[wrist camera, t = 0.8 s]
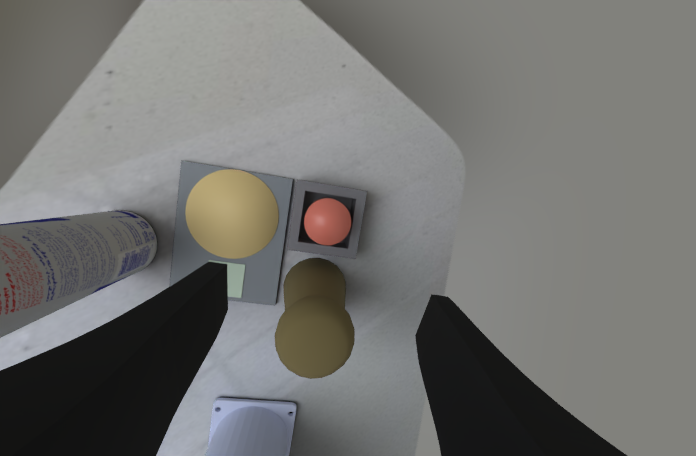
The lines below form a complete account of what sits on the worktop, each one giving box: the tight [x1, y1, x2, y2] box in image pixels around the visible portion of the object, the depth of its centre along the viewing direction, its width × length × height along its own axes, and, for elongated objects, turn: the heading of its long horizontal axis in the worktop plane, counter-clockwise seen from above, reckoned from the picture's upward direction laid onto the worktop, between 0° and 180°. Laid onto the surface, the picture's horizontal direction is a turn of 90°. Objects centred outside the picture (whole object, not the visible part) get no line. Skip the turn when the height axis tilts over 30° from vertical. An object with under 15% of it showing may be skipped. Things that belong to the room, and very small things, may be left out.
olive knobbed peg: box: [275, 258, 354, 379], centre depth 23 cm, size 6×6×11 cm
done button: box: [304, 198, 351, 245], centre depth 25 cm, size 4×4×2 cm
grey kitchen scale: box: [169, 161, 293, 305], centre depth 27 cm, size 12×10×1 cm
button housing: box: [287, 180, 367, 259], centre depth 26 cm, size 6×6×3 cm
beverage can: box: [0, 210, 157, 338], centre depth 19 cm, size 6×6×15 cm
